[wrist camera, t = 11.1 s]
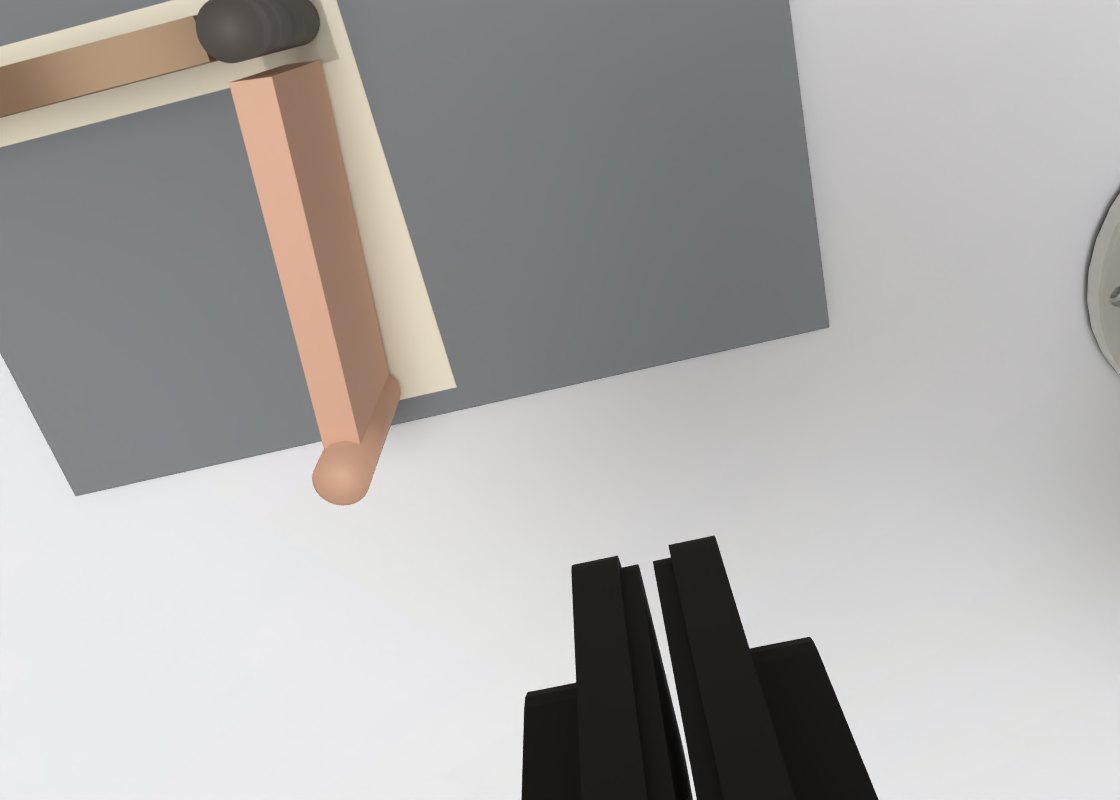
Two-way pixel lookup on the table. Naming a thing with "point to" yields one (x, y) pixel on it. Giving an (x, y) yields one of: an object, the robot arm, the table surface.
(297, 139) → the fence swing section
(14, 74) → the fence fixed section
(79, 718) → the table surface
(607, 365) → the mat
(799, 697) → the robot arm
